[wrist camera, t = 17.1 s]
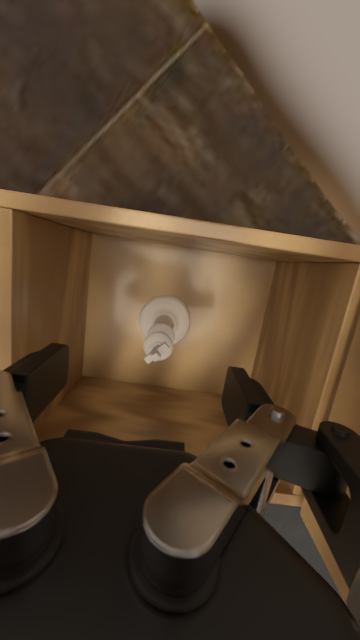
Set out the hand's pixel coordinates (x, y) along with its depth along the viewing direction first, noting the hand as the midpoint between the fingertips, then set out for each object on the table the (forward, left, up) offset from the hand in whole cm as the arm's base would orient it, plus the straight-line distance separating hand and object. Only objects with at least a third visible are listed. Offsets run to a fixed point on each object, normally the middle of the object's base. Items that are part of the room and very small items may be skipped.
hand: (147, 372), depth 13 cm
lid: (+10, 0, +9) cm, 14 cm away
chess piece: (0, 0, -13) cm, 13 cm away
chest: (+1, 0, -13) cm, 13 cm away
